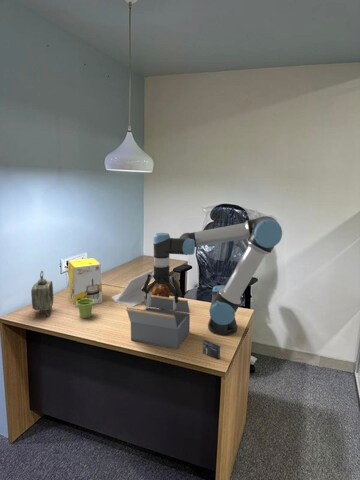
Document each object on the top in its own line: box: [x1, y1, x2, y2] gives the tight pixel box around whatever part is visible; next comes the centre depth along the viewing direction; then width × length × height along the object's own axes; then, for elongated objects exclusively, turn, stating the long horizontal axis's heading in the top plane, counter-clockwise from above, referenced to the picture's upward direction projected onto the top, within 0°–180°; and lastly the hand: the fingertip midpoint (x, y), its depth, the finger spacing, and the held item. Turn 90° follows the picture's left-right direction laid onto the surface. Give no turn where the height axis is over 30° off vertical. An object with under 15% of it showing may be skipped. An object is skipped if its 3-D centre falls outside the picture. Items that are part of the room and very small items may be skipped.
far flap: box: [143, 294, 191, 314], centre depth 169 cm, size 24×9×1 cm
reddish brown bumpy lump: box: [151, 284, 172, 298], centre depth 197 cm, size 15×8×15 cm, turn 141°
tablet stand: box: [111, 269, 154, 307], centre depth 215 cm, size 18×25×17 cm
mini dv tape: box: [202, 340, 221, 360], centre depth 147 cm, size 8×2×6 cm, turn 51°
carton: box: [130, 306, 191, 350], centre depth 164 cm, size 24×18×10 cm
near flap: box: [125, 306, 177, 330], centre depth 152 cm, size 24×9×1 cm
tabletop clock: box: [30, 270, 54, 317], centre depth 189 cm, size 14×9×25 cm, turn 12°
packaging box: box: [67, 257, 103, 308], centre depth 208 cm, size 16×16×25 cm
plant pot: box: [77, 299, 94, 319], centre depth 187 cm, size 9×9×9 cm
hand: (161, 307), depth 163 cm, fingers open, 13 cm apart
